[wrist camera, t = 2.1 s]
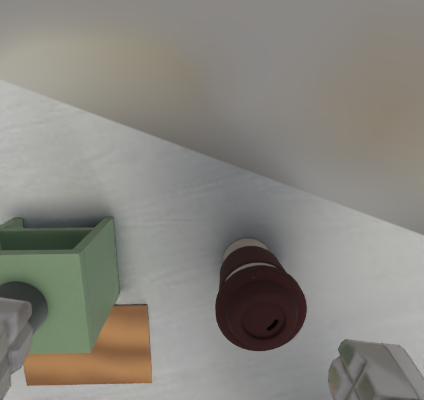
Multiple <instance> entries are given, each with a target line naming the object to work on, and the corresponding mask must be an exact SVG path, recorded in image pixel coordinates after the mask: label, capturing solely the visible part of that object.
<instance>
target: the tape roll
mask: <svg viewBox="0 0 424 400" xmlns="http://www.w3.org/2000/svg"><path fill="white" fill-rule="evenodd" d="M0 297H1V298H8V299H14V300H21V301H28V302H30V303H31V308H32V315H31V316H30V318H29V319H28V321H27V322H28V323H29V324H30V325H31V326H32V327H33V335H34V333H35V332H36V331H37V330H38V328H39V327H40V326H41V325H42V323H43V322H44V321H45V319H46V317H47V313H48V306H47V302H46V299H45V297H44V296H43V294H42V293H41V292H40V291H39V290H38V289H37V288H35V287H34V286H32V285H30V284H27V283H24V282H18V281H14V282H8V283H5V284H3V285H1V286H0Z"/></svg>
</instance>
